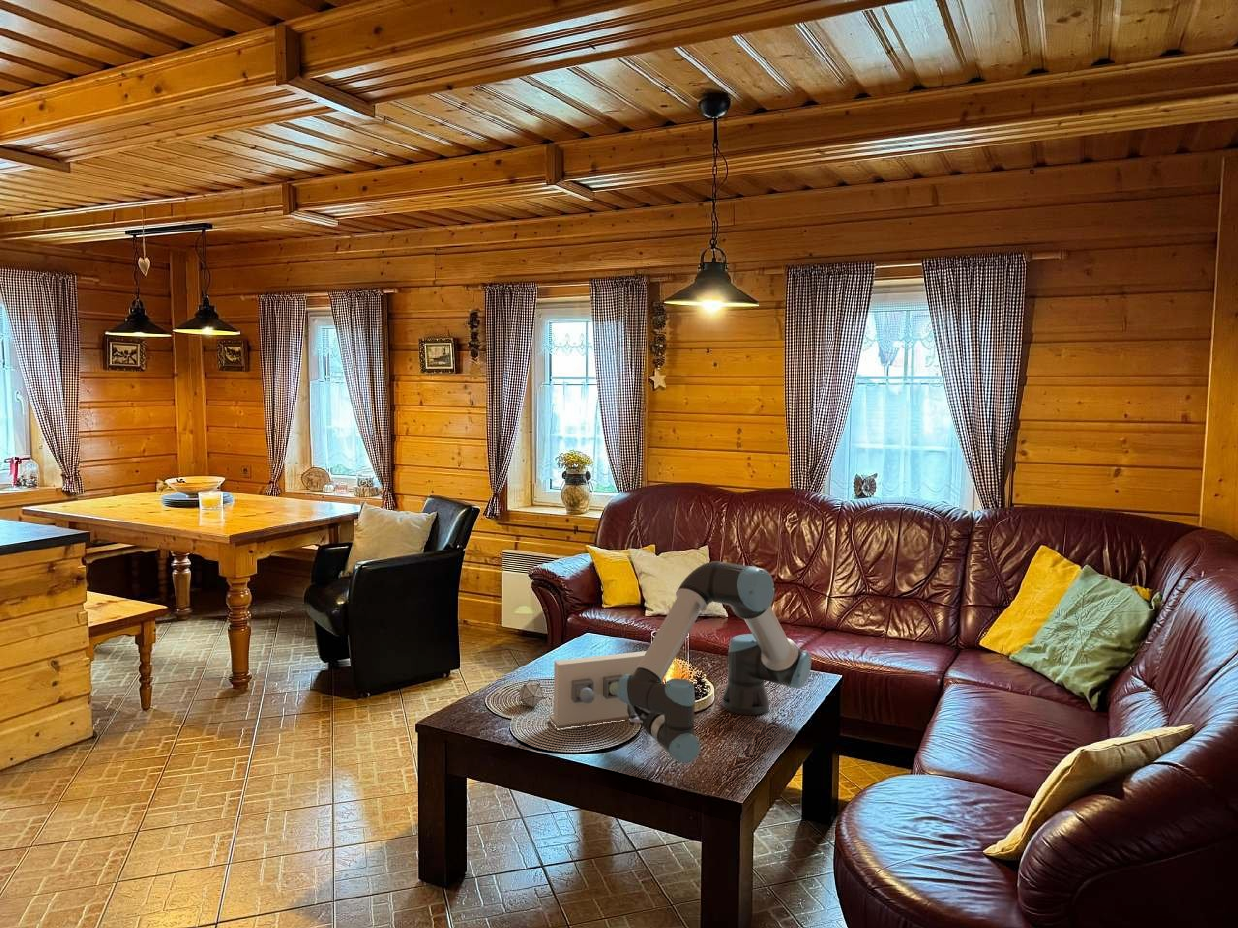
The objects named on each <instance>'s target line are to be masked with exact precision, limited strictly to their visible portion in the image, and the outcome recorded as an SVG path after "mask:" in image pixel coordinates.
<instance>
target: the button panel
mask: <svg viewBox="0 0 1238 928" xmlns="http://www.w3.org/2000/svg"><path fill="white" fill-rule="evenodd" d="M646 652H647V650H644V651H635V652H624V653H619V654H618V653H616V654H607V655H597V656H587V657H578V658H571V659H570V658H569V659H561V660H554V665H553V666H554V669H553V671H554V673H553V674H554V677H553V679H554V682H553V715H549V720H550V719H551V720H552V722H553V723H554V724H555V725H556V727H557V728H564V727H571V726H581V725H589V724H597V723H603V722H611V721H620V720H629V719H630V717H629V715H628V712H627V703H624V702H622V701H621V700H619V698H618V696H617V695H612V694H611V693H610V692H609V691H608V686H609V682H611V681H619V679H620V678H621V677H623V676H624V675H625V674H634V672H635V671H636V669H637V667H638V666H639V664H640V662H641V660H642V659H643V657H644V655H645V653H646ZM661 683H663V684H664V679H663V680H662V682H661ZM586 687H588V688H590V689H591V690H592V691H593V692H594V694H595V697H594V699H593V701H592V702H590V703H585V702H583V701H582V700H581V699H580V696H579V694H580V691H581V690H582V689H583V688H586ZM635 714H636V713H635ZM637 716H638V715H637ZM638 718H640V717H639V716H638Z"/></svg>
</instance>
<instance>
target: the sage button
mask: <svg viewBox="0 0 1238 928" xmlns="http://www.w3.org/2000/svg"><path fill="white" fill-rule="evenodd" d="M617 684H618V681H611V682H609V686H608V691H609V692H610V693H611V694H612V695H617V691H616V690H617Z"/></svg>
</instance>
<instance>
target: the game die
mask: <svg viewBox="0 0 1238 928" xmlns="http://www.w3.org/2000/svg"><path fill="white" fill-rule="evenodd" d="M542 689H543V686H542V687H541V682H539V683H535V682H533V681H531V679H530V678H529V679H528V682H527V683H526V684H525V683H524V684H523V686H522V687H521V688H520V689H519V688H518V689H516V691H517V692H519V693H518V694H519V696H520V699H519V702H521V705H522V704H524V705H527V706H528V707H531V709H532V708H534V706H536V705H537V703H538V704H539V703H540V701H542V700H546V697H545V696H544V695H543V692H542Z"/></svg>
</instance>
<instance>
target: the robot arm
mask: <svg viewBox="0 0 1238 928" xmlns="http://www.w3.org/2000/svg"><path fill="white" fill-rule="evenodd" d="M774 586H775V584H774V580H773V578H772V575H771V574H770V573H769V572H768V571H767V570H766V569H764V568H760V567H757V566H753V565H752V566H751V565H750V566H749V565H744V564H743V565H742V564H736V563H731V562H725V561H722V560H721V561H720V560H713V561H708V562H706V563H703V564H702V565H700V566H698V567H696V568H695V569H693V571H692V572H690V573H689V574H688V575H687V576H686V577H685V578H684V579H683V581H682V582H681V583H680V585H679V586H678V589H677V590H676V593H675V595H676V599H675V601H674V602H673V604H672V606H671V607H670V610H669V611H668V613H667V615H666V617H665V618H664V620H663V622H662V624H661V625H660V627H659V629H658V631H657V632H656V634H655V636H654V638H653V640H652V641H651V643H650V644H649V646H648V648H647V649H646V651H647V652H646V653H645V655H644V657H643V659H642V660H641V662H640V664H639V666H638V667H637V669H636V671H635V672H634V674H625V675H624V676H623V677H621V678H620V679H619V681H618V684H617V690H616V691H617V696H618V698H619V700H621V701H622V702H624V703H627V712H628V715H629V717H630V721H629V725H630V726H631V725H632V726H633V725H635V724H637V723H638V724H639V725H641V726H643V727H644V729H645V731H646V733H647V734H648V735H649V736H650V737H652V739H653V740H655V741H656V742H657V743H658V745H659V746H661V747H662V748H663V749H664V750H665V752H667V753H668V754H669V756H670V757H671V758H673V759H675V761H677V762H678V763H681V764H688V763H692V762H693V761H694V760H695V759H697V757H698V756H699V755H700V751H701V743H700V741H699V739H698V738H697V736H696V735H695V722H694V721H695V705H696V704H695V703H696V696H695V692H696V691H695V685H694V684H693V682H692V681H690V680H688V679H684V678H682V679H681V678H672V679H669V680H667V681H666V682H665V683H664V682H663V683H661V682H662V680H663V681H664V678H665V676H666V675H667V673H668V671H669V669H670V667H671V665H672V664H673V662H674V660H675V658H676V657H677V655H678V654H679V651H680V650H681V647H682V645H683V644H684V643H685V640H686V639H687V637H688V634H689V633H690V631H691V629H692V627H693V625H694V624H695V621H697V619H698V617H699V615H700V613H701V612H704V611H705V610H707V608H708V606H709V604H711V603H718V604H722V605H727V606H729V607H730V608H731V610H732V611H733V613H734V614H735V616H737V617H738V618H740V619H742V620H744V622H745V623H746V625H747V627H748V629H749V630H750V632H751V633H746V634H739V635H736V636H733V637H732V638H731V639H730V640H729V647H728V666H727V667H728V668H727V669H728V673H727V677H728V678H727V683H726V686H725V689H724V691H723V695H722V696H721V707H722V708H723V709H724V710H726V711H727V712H730V713H732V714H737V715H744V716H757V715H758V716H759V715H762V714H764V713H767V712H768V711H769V709H770V699H769V696H768V693H767V688H766V685H765V683H766V682H769V683H773V684H776V685H782V686H785V687H788V688H790V689H791V688H794V689H802V688H803V687H804V686H805V685H806V682H807V680H808V678H809V675H810V672H811V667H812V655H811V653H810V652H809V651H806V650H805V649H804V650H803V649H802V650H801V649H799V648H798V645H797V644H796V642H794V640H792V639H791V638H789V637H787V635H786V633H785V631H784V628H782V625H781V624H780V623H781V622H780V621H779V620H778V618H777V616H776V614H775V612H774V610H773V607H772V603H773V601H774V597H775V588H774ZM765 681H766V682H765ZM635 713H636V714H635ZM637 715H638V716H639V717H640V718H638V716H637Z"/></svg>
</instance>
